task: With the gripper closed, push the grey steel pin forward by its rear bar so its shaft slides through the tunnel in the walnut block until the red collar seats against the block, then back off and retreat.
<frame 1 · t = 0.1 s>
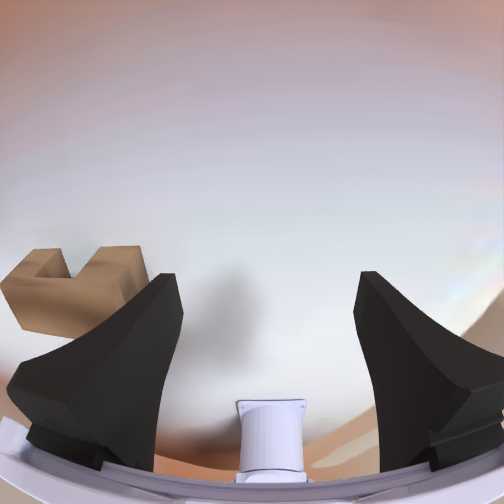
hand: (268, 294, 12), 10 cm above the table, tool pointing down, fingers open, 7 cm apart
walnut block: (87, 272, 24), on the table
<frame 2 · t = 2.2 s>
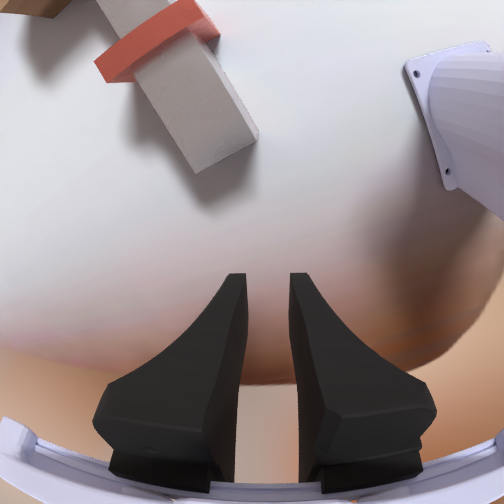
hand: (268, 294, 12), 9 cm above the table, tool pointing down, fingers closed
steel pin: (169, 39, 14), on the table
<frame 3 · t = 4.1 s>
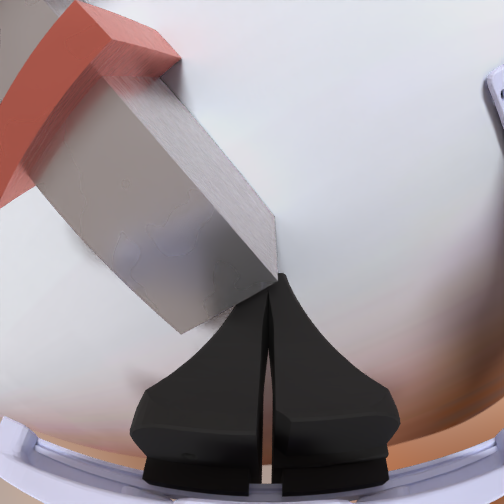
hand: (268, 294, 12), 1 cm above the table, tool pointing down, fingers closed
steel pin: (101, 83, 9), on the table, touching gripper
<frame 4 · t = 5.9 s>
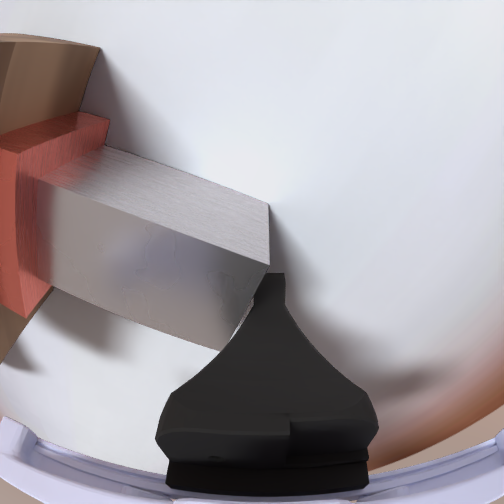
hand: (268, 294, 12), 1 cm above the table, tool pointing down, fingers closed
steel pin: (66, 176, 10), on the table, touching gripper, walnut block
walnut block: (22, 171, 10), on the table
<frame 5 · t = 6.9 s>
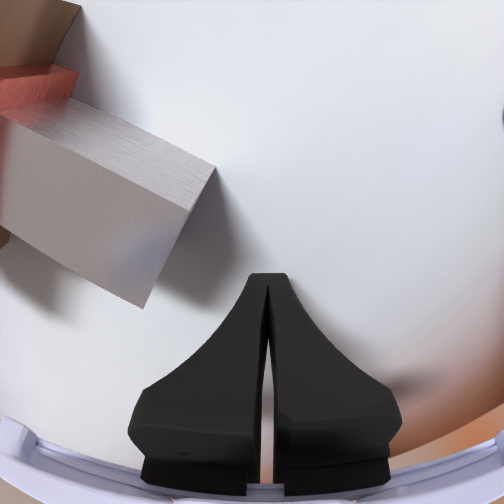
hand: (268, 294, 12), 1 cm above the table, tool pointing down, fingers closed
steel pin: (33, 125, 9), on the table
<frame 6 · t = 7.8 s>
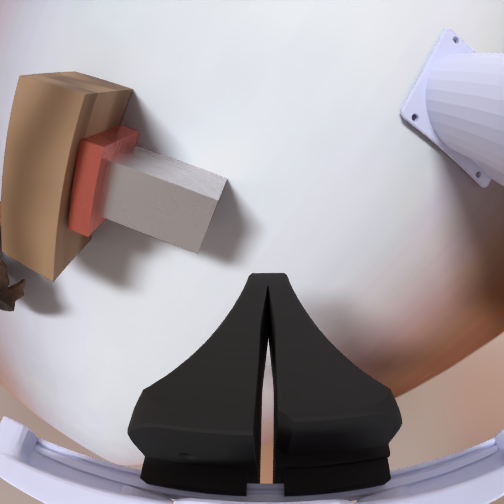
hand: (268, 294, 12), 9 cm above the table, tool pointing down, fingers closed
pottery mug: (0, 237, 22), on the table
steel pin: (110, 162, 19), on the table
walnut block: (78, 159, 18), on the table
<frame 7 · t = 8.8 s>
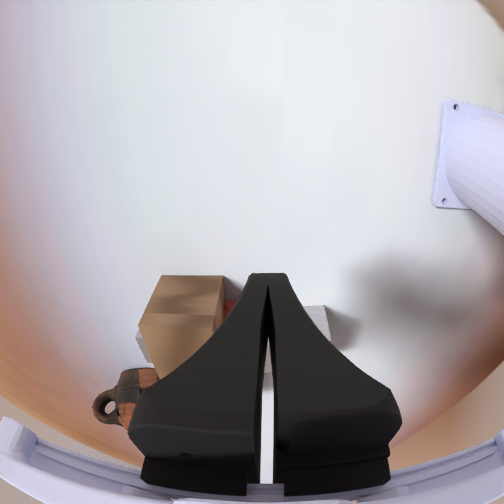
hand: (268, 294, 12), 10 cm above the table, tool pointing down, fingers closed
pottery mug: (148, 387, 33), on the table
steel pin: (230, 325, 26), on the table
walnut block: (201, 330, 27), on the table
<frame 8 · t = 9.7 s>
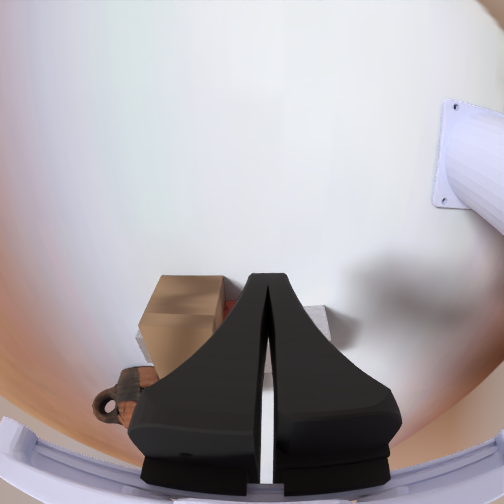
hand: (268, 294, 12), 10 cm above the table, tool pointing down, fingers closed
pottery mug: (148, 386, 33), on the table
steel pin: (230, 325, 26), on the table
walnut block: (201, 330, 27), on the table
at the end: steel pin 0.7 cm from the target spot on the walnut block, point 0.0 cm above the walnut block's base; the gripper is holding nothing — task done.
